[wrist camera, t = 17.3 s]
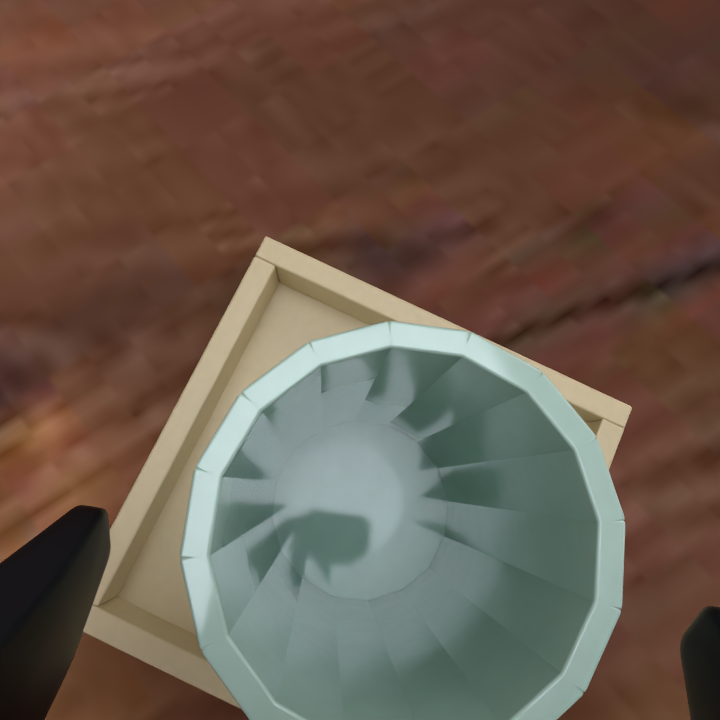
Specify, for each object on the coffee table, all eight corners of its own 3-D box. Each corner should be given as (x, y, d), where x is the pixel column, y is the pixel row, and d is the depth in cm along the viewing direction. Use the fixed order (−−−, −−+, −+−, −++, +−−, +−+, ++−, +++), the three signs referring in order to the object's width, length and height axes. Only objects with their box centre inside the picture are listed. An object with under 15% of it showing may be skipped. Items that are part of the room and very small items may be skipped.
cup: (289, 635, 22) (244, 850, 9) (241, 439, 23) (138, 384, 10) (480, 576, 22) (688, 700, 10) (424, 389, 24) (544, 279, 11)
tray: (456, 784, 22) (474, 824, 19) (90, 605, 22) (60, 621, 20) (600, 414, 24) (633, 406, 22) (270, 260, 25) (265, 235, 22)
